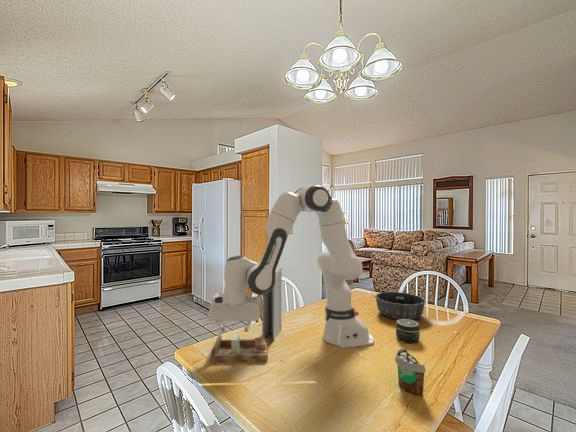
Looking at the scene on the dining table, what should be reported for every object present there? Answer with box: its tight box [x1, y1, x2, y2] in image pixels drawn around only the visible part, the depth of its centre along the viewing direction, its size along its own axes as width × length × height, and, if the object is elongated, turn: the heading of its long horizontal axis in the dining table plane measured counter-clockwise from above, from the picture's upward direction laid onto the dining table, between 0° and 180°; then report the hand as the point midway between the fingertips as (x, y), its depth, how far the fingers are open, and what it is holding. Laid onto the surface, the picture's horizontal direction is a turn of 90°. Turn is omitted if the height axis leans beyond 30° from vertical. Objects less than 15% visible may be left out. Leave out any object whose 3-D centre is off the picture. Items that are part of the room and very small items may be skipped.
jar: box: [395, 318, 421, 345], centre depth 129 cm, size 10×10×8 cm
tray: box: [210, 334, 269, 364], centre depth 115 cm, size 21×14×5 cm, turn 92°
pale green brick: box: [230, 333, 240, 354], centre depth 115 cm, size 2×6×6 cm, turn 2°
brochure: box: [261, 268, 283, 342], centre depth 134 cm, size 14×6×30 cm, turn 168°
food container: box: [394, 347, 426, 397], centre depth 94 cm, size 12×6×10 cm, turn 5°
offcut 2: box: [254, 343, 267, 354], centre depth 116 cm, size 5×8×2 cm, turn 2°
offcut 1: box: [254, 337, 266, 351], centre depth 116 cm, size 4×6×2 cm, turn 10°
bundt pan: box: [374, 291, 427, 321], centre depth 161 cm, size 26×26×10 cm
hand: (234, 331), depth 115 cm, fingers open, 8 cm apart
